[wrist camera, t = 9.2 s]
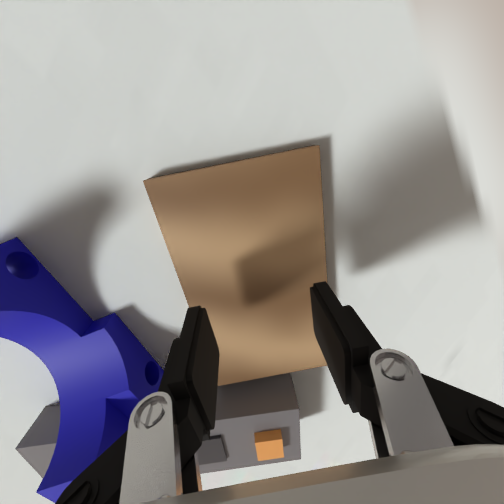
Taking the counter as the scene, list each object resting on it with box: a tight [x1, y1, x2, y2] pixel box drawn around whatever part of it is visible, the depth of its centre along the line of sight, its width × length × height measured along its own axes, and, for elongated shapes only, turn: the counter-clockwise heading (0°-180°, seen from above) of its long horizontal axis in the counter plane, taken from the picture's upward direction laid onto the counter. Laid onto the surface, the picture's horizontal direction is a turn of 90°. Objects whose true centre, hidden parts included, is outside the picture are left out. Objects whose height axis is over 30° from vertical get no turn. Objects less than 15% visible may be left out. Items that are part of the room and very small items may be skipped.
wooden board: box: [143, 145, 327, 386], centre depth 14 cm, size 14×8×1 cm, turn 10°
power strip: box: [15, 373, 301, 478], centre depth 17 cm, size 18×6×4 cm, turn 96°
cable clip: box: [0, 237, 164, 503], centre depth 12 cm, size 12×4×6 cm, turn 22°
